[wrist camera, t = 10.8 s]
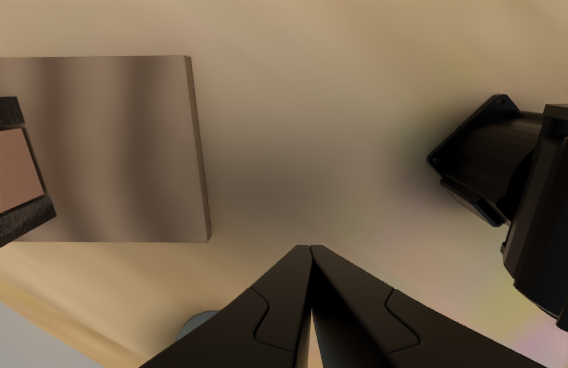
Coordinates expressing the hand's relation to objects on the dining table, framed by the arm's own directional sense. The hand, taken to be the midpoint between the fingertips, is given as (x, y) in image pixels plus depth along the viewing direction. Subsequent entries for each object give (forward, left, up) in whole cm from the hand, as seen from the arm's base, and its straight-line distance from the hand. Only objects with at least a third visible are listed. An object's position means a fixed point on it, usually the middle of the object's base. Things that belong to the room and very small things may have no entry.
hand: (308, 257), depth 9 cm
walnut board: (+12, -13, -13) cm, 22 cm away
